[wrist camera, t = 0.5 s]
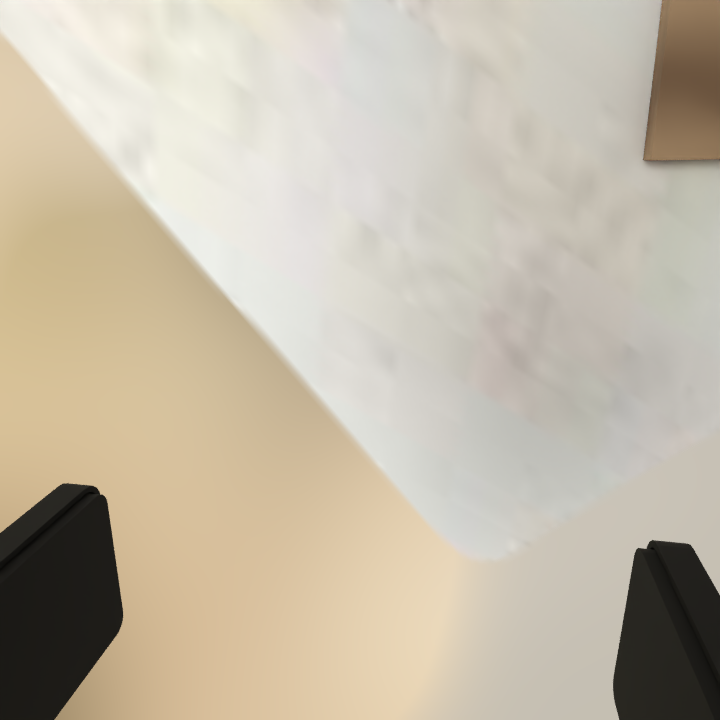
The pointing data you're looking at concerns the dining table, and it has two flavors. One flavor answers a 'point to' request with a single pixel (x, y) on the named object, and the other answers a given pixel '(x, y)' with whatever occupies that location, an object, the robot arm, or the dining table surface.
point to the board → (686, 83)
